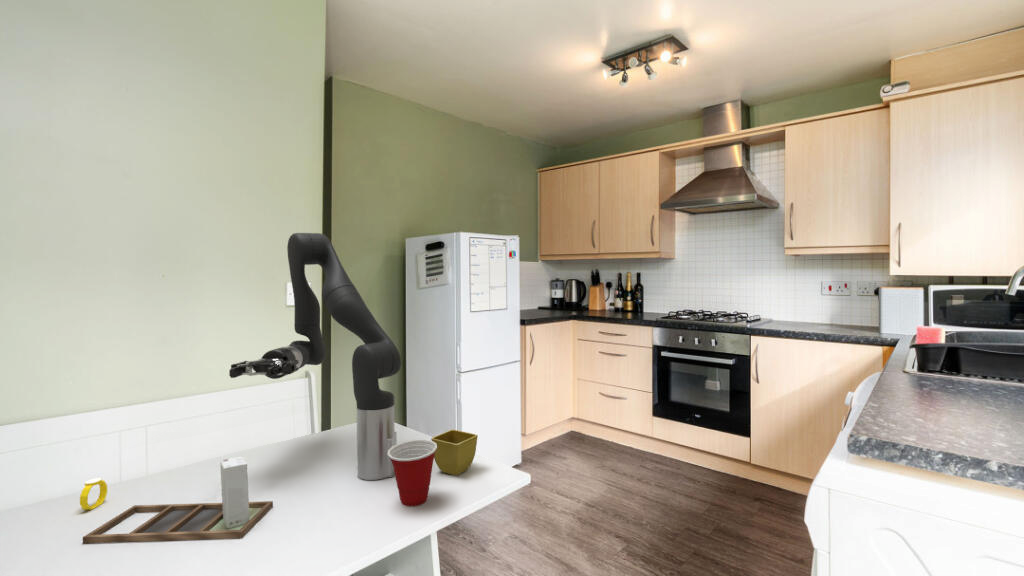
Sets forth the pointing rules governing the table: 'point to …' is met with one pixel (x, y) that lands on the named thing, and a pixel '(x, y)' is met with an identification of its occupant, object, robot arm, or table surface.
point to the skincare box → (234, 492)
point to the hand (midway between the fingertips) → (250, 373)
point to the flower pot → (455, 451)
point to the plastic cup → (413, 469)
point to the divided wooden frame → (179, 523)
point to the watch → (86, 490)
